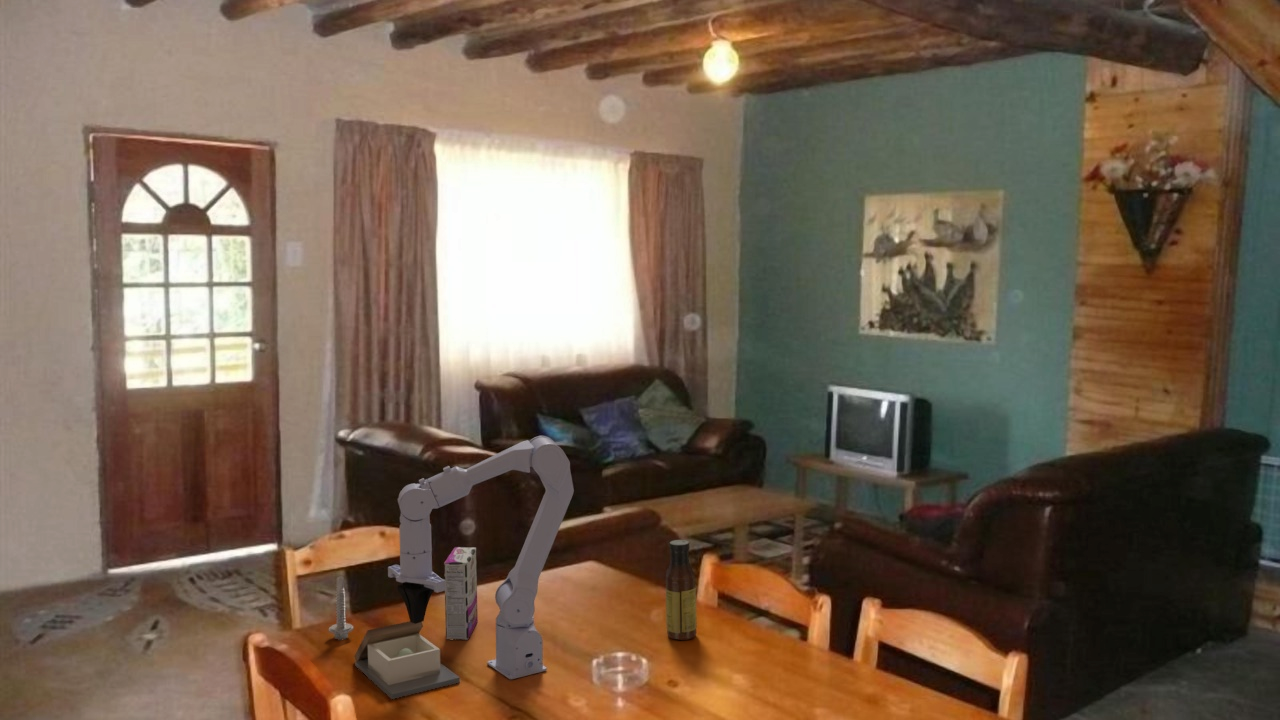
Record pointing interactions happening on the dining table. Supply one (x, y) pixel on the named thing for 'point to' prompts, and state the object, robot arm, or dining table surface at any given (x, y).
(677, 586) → the sauce bottle
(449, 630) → the candy bar box
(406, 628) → the lid
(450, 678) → the board
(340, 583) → the screw
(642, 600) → the dining table surface
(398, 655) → the ball
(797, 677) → the dining table surface
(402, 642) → the open grey box
